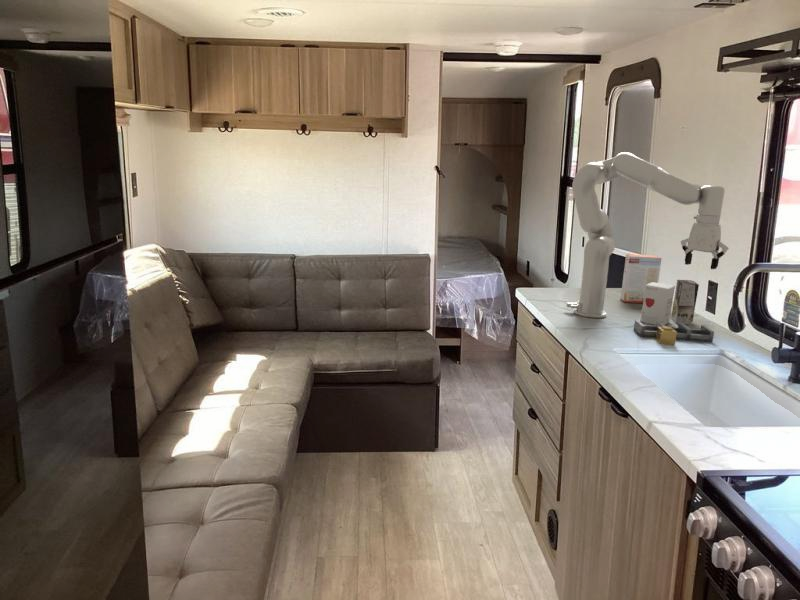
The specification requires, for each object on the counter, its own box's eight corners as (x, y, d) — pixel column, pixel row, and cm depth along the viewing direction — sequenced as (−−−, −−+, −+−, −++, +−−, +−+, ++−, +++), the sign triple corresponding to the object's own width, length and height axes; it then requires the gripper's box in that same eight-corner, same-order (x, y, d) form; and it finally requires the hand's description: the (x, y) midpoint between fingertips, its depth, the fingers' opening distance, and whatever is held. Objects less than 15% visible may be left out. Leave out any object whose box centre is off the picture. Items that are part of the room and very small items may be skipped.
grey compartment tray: (640, 336, 230) (641, 326, 229) (633, 330, 239) (635, 319, 238) (712, 342, 228) (714, 331, 227) (702, 335, 237) (704, 324, 236)
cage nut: (659, 344, 222) (662, 328, 221) (655, 340, 227) (657, 325, 226) (674, 345, 222) (676, 329, 221) (669, 341, 227) (672, 326, 226)
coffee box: (692, 325, 252) (699, 284, 248) (675, 323, 253) (681, 283, 249) (687, 319, 260) (694, 280, 256) (670, 317, 261) (676, 278, 258)
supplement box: (639, 321, 252) (644, 284, 248) (646, 317, 259) (651, 281, 255) (663, 326, 246) (669, 288, 243) (669, 322, 253) (675, 285, 250)
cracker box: (650, 301, 290) (657, 255, 285) (655, 304, 284) (662, 257, 279) (619, 299, 290) (625, 253, 285) (623, 302, 284) (630, 255, 280)
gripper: (680, 217, 237) (673, 263, 241) (727, 223, 224) (718, 271, 228) (690, 217, 242) (683, 262, 246) (737, 222, 229) (728, 270, 233)
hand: (700, 266), depth 237 cm, fingers open, 9 cm apart
